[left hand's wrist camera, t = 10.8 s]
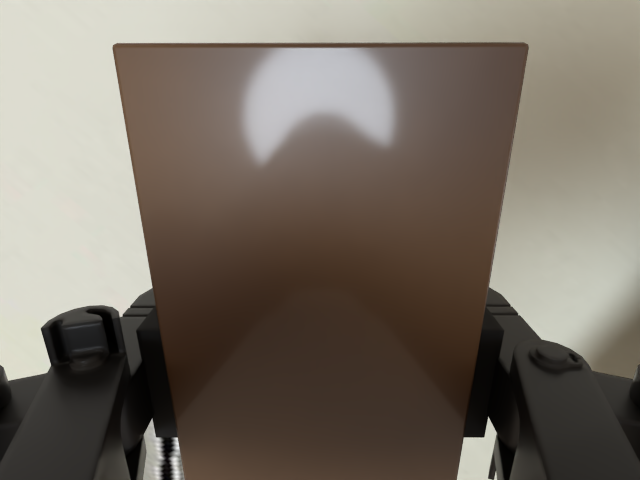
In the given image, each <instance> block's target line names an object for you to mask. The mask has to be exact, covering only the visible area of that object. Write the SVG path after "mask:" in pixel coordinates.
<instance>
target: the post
mask: <svg viewBox="0 0 640 480" xmlns="http://www.w3.org/2000/svg"><path fill="white" fill-rule="evenodd" d="M528 48H529V47H528V44H526V43H524V42H515V43H117V44H115V45H113V54H114V60H115V66H116V72H117V77H118V83H119V89H120V95H121V101H122V107H123V113H124V119H125V125H126V131H127V137H128V143H129V149H130V155H131V161H132V167H133V173H134V179H135V185H136V191H137V197H138V203H139V209H140V215H141V221H142V227H143V233H144V239H145V245H146V250H147V256H148V262H149V268H150V274H151V280H152V286H153V292H154V298H155V304H156V310H157V316H158V322H159V328H160V334H161V340H162V346H163V352H164V358H165V364H166V370H167V376H168V382H169V388H170V394H171V400H172V406H173V412H174V417H175V423H176V429H177V435H178V441H179V447H180V453H181V459H182V465H183V471H184V477H185V480H457V474H458V468H459V462H460V456H461V450H462V444H463V438H464V432H465V426H466V420H467V414H468V408H469V402H470V396H471V390H472V384H473V378H474V372H475V366H476V360H477V354H478V348H479V342H480V336H481V330H482V324H483V318H484V312H485V306H486V300H487V294H488V288H489V282H490V276H491V270H492V264H493V258H494V252H495V246H496V240H497V234H498V228H499V222H500V216H501V210H502V204H503V198H504V192H505V186H506V180H507V174H508V168H509V162H510V156H511V150H512V144H513V138H514V132H515V126H516V120H517V114H518V108H519V102H520V96H521V90H522V84H523V78H524V72H525V66H526V60H527V54H528Z"/></svg>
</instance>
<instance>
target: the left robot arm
mask: <svg viewBox="0 0 640 480" xmlns="http://www.w3.org/2000/svg"><path fill="white" fill-rule="evenodd" d="M41 331H42V335H43V338H44V342H45V345H46V349H47V352H48V356H49V359H50V363H51V367H50V369H49V371H48V373H45V374H41V375H36V376H31V377H26V378H21V379H16V380H11V381H8V380H7V377H6V374H5V371H4V368H3V367H2V366H1V365H0V480H143V474H144V467H145V459H146V445H145V440H144V433H145V431H146V429H147V427H148V425H149V423H150V421H151V419H152V418H153V423H154V429H155V434H156V437H178V435H177V429H176V423H175V417H174V412H173V406H172V400H171V394H170V388H169V382H168V376H167V370H166V364H165V358H164V352H163V346H162V340H161V334H160V328H159V322H158V316H157V310H156V304H155V298H154V292H153V288H152V289H150V290H149V291H147V292H145V293H143V294H142V295H140V296H139V297H138V298H137V299H136V300H135V301H134V303H133V304H132V305H131V306H130V308H128V309H127V310H126V312H125V313H124V314H123V317H119V312H118V311H117V310H116V309H114V308H113V307H108V306H103V305H100V306H87V307H82V308H77V309H73V310H70V311H68V312H65V313H62V314H60V315H58V316H56V317H54V318H53V319H51V320H49V321H48V322H47V323H46V324H45V325H44V326H43V327H42V328H41ZM488 416H489V418H490V420H491V422H492V424H493V426H494V428H495V430H496V432H497V435H496V440H495V445H494V450H493V454H492V459H491V464H490V469H489V476H488V479H492V480H494V476H495V472H496V473H497V480H640V364H639V365H638V366H637V369H636V372H635V375H634V378H633V379H629V378H624V377H619V376H614V375H609V374H603V373H598V372H595V371H592V370H591V368H590V366H589V365H588V363H587V362H586V361H585V360H584V359H583V357H582V356H580V355H579V354H577V353H576V352H574V351H573V350H571V349H569V348H567V347H565V346H562V345H560V344H558V343H554V342H550V341H546V340H541V339H540V337H539V336H538V335H537V334H536V333H535V332H534V331H533V330H532V328H531V327H530V326H529V325H528V324H527V323H526V322H525V321H524V319H523V318H522V317H521V316H520V315H518V313H517V312H516V310H515V309H514V308H513V307H510V304H509V303H508V302H507V300H506V299H505V298H504V297H503V296H502V295H501V294H500V293H498V292H496V291H494V290H493V289H491V288H488V294H487V300H486V306H485V312H484V318H483V324H482V330H481V336H480V342H479V348H478V354H477V360H476V366H475V372H474V378H473V384H472V390H471V396H470V402H469V408H468V414H467V420H466V426H465V432H464V437H484V436H485V430H486V425H487V420H488Z"/></svg>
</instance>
